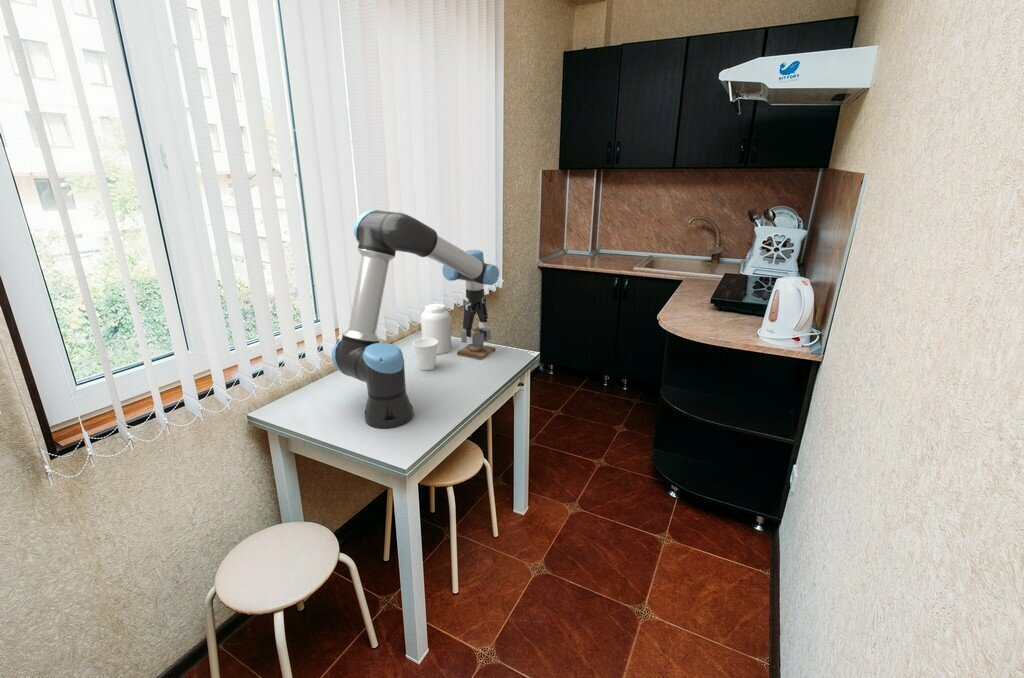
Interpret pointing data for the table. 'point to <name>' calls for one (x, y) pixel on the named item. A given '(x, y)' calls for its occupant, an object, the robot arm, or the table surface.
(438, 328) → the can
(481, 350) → the post fixture
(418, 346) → the cup
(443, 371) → the table surface
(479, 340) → the grey split frame
